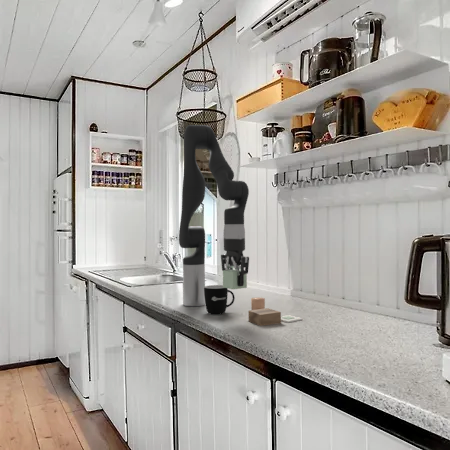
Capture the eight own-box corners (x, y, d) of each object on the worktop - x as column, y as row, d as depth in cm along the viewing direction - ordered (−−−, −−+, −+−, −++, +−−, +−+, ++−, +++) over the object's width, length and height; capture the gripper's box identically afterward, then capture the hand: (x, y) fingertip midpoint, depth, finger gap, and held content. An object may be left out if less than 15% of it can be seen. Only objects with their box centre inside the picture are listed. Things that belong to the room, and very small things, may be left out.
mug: (208, 316, 158) (208, 288, 158) (201, 312, 166) (201, 285, 166) (238, 313, 162) (238, 286, 162) (230, 309, 170) (230, 283, 170)
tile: (273, 319, 151) (273, 317, 151) (288, 316, 155) (288, 314, 155) (287, 322, 145) (287, 320, 145) (302, 319, 149) (302, 317, 149)
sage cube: (223, 287, 152) (222, 270, 152) (236, 285, 155) (236, 269, 155) (232, 289, 147) (232, 272, 147) (246, 287, 151) (246, 270, 150)
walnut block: (248, 322, 149) (248, 310, 149) (268, 319, 152) (268, 308, 152) (260, 326, 141) (260, 314, 141) (281, 323, 145) (280, 312, 145)
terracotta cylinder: (248, 314, 160) (248, 298, 160) (259, 312, 163) (258, 297, 163) (257, 316, 156) (257, 300, 156) (267, 315, 159) (267, 298, 159)
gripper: (214, 237, 155) (214, 283, 155) (237, 238, 143) (238, 288, 143) (231, 236, 159) (231, 281, 159) (255, 237, 147) (255, 286, 147)
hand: (234, 284), depth 151 cm, fingers closed on sage cube, 6 cm apart
